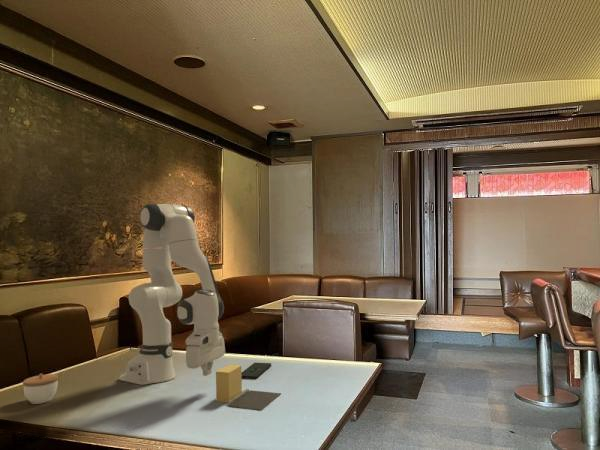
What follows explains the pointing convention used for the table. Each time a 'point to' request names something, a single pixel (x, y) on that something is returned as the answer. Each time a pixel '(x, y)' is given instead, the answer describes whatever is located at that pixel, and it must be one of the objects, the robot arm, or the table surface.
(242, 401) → the topple stop
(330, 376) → the table surface
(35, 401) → the lidded jar
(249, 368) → the smart home device
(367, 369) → the table surface
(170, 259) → the robot arm
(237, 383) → the mustard block
